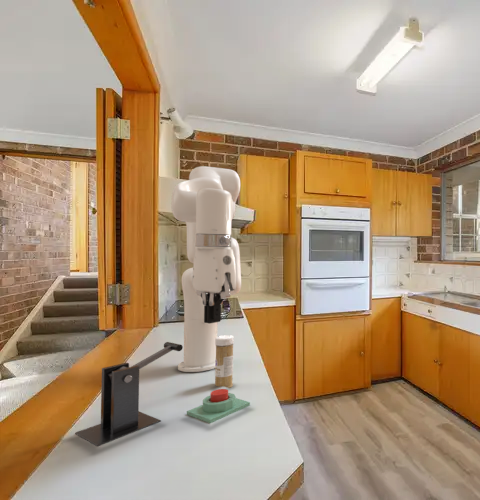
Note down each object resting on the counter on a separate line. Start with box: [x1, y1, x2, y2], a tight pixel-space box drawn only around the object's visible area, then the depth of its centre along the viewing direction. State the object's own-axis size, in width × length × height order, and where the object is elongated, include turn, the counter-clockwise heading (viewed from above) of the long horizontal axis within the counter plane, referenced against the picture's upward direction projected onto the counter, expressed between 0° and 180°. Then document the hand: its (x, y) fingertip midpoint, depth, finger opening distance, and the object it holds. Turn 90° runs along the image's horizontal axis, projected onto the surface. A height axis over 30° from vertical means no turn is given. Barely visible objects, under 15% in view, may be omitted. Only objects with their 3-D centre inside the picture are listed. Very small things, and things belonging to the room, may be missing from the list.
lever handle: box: [108, 341, 184, 383], centre depth 73 cm, size 13×5×2 cm, turn 151°
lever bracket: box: [74, 362, 162, 447], centre depth 69 cm, size 11×9×13 cm
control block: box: [186, 392, 251, 424], centre depth 77 cm, size 10×8×4 cm
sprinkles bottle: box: [214, 334, 235, 389], centre depth 93 cm, size 5×5×14 cm
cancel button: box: [209, 388, 229, 402], centre depth 77 cm, size 4×4×2 cm
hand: (212, 322), depth 81 cm, fingers closed
